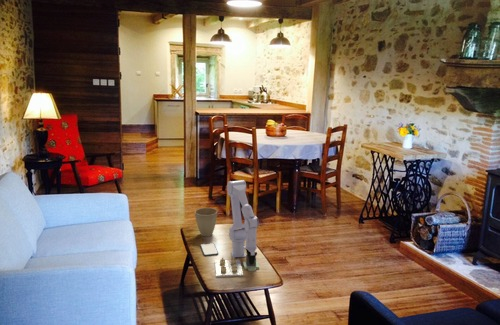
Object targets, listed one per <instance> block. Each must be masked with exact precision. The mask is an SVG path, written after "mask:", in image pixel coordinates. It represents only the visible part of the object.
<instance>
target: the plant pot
mask: <svg viewBox="0 0 500 325" xmlns="http://www.w3.org/2000/svg"><path fill="white" fill-rule="evenodd" d="M218 212H219V211H218V210H217V209H216V208H212V207H202V208H199V209H196V210H195V211H194V215H195V221H196V225H197V227H198V230H199V233H200V236H201V237H202V236H203V237H211V236H213V233H214V230H215V227H216V222H217V217H218Z"/></svg>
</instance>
